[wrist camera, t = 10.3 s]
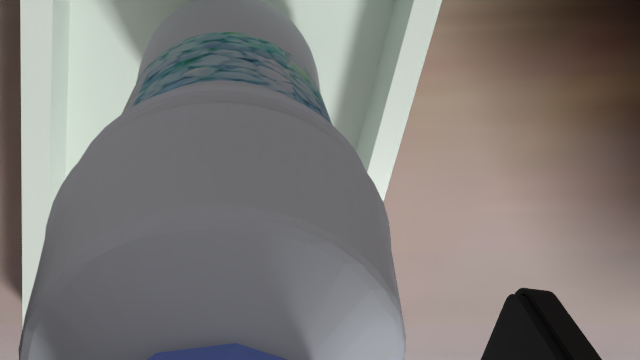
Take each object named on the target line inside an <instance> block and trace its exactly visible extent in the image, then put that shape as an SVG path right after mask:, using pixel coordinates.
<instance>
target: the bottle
mask: <svg viewBox="0 0 640 360" xmlns="http://www.w3.org/2000/svg"><path fill="white" fill-rule="evenodd" d="M405 352H406V335H405V329H404V322H403V316H402V310H401V305H400V299H399V293H398V287H397V281H396V275H395V270H394V264H393V258H392V252H391V237H390V228H389V221H388V217H387V213H386V210H385V206H384V203H383V201H382V199H381V196H380V194H379V192H378V190H377V188H376V186H375V184H374V182H373V181H372V179H371V178H370V176H369V175H368V173H367V172H366V170H365V168H364V165H363V163H362V161H361V159H360V158H359V156H358V154H357V153H356V151H355V149H354V148H353V146H352V145H351V144H350V143H349V141H348V140H347V139H346V138H345V137H344V136H343V135H342V134H341V133H340V132H339V131H338V130H337V129H336V128H335V127H334V126H333V125H332V123H331V120H330V117H329V115H328V112H327V109H326V106H325V104H324V101H323V98H322V96H321V93H320V85H319V77H318V72H317V68H316V64H315V61H314V58H313V55H312V53H311V50H310V48H309V46H308V44H307V42H306V40H305V39H304V37H303V35H302V34H301V32H300V31H299V30H298V28H297V27H296V26H295V24H294V23H293V22H292V21H291V20H290V19H289V18H288V17H287V16H286V15H285V14H284V13H283V12H282V11H281V10H280V9H278V8H277V7H275V6H274V5H272V4H271V3H269V2H267V1H263V0H192V1H190V2H188V3H187V4H185V5H183V6H181V7H179V8H178V9H177V10H175V11H174V12H173V13H172V14H171V15H169V16H168V17H167V18H166V19H165V20H164V21H163V22H162V23H161V25H160V26H159V27H158V28H157V29H156V31H155V32H154V33H153V35H152V37H151V39H150V41H149V43H148V46H147V48H146V50H145V52H144V55H143V57H142V61H141V64H140V67H139V72H138V77H137V81H136V85H135V87H134V89H133V91H132V93H131V95H130V97H129V99H128V101H127V104H126V106H125V108H124V110H123V112H122V114H121V115H120V116H119V117H118V118H116V119H115V120H114V121H112V122H111V123H110V124H108V125H107V126H106V127H105V128H104V129H103V130H102V131H101V132H100V133H99V134H98V136H97V137H96V138H95V139H94V140H93V141H92V142H91V143H90V145H89V146H88V148H87V149H86V151H85V153H84V154H83V156H82V157H81V159H80V160H79V162H78V163H77V164H76V165H75V166H74V168H73V169H72V170H71V171H70V173H69V174H68V176H67V177H66V179H65V180H64V182H63V183H62V185H61V187H60V189H59V191H58V193H57V195H56V197H55V199H54V201H53V204H52V207H51V211H50V214H49V218H48V221H47V225H46V231H45V240H44V244H43V248H42V252H41V257H40V261H39V265H38V270H37V274H36V277H35V281H34V285H33V289H32V292H31V296H30V300H29V303H28V307H27V311H26V315H25V319H24V325H23V330H22V335H21V340H20V346H19V360H404V359H405Z"/></svg>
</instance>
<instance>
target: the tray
mask: <svg viewBox="0 0 640 360" xmlns="http://www.w3.org/2000/svg"><path fill="white" fill-rule="evenodd" d="M190 1H192V0H20V26H21V172H22V317H23V325H24V319H25V315H26V311H27V307H28V303H29V300H30V296H31V292H32V289H33V285H34V281H35V277H36V274H37V270H38V265H39V261H40V257H41V252H42V248H43V244H44V240H45V231H46V225H47V221H48V218H49V214H50V211H51V207H52V204H53V201H54V199H55V197H56V195H57V193H58V191H59V189H60V187H61V185H62V183H63V182H64V180H65V179H66V177H67V176H68V174H69V173H70V171H71V170H72V169H73V168H74V166H75V165H76V164H77V163H78V162H79V160H80V159H81V157H82V156H83V154H84V153H85V151H86V149H87V148H88V146H89V145H90V143H91V142H92V141H93V140H94V139H95V138H96V137H97V136H98V134H99V133H100V132H101V131H102V130H103V129H104V128H105V127H106V126H107V125H108V124H110V123H111V122H112V121H114V120H115V119H116V118H118V117H119V116H120V115H121V114H122V112H123V110H124V108H125V106H126V104H127V101H128V99H129V97H130V95H131V93H132V91H133V89H134V87H135V85H136V81H137V77H138V72H139V67H140V64H141V61H142V57H143V55H144V52H145V50H146V48H147V46H148V43H149V41H150V39H151V37H152V35H153V33H154V32H155V31H156V29H157V28H158V27H159V26H160V25H161V23H162V22H163V21H164V20H165V19H166V18H167V17H168V16H169V15H171V14H172V13H173V12H174V11H175V10H177V9H178V8H179V7H181V6H183V5H185V4H187V3H188V2H190ZM263 1H267V2H269V3H271V4H272V5H274V6H275V7H277V8H278V9H280V10H281V11H282V12H283V13H284V14H285V15H286V16H287V17H288V18H289V19H290V20H291V21H292V22H293V23H294V24H295V26H296V27H297V28H298V30H299V31H300V32H301V34H302V35H303V37H304V39H305V40H306V42H307V44H308V46H309V48H310V50H311V53H312V55H313V58H314V61H315V64H316V68H317V72H318V77H319V85H320V93H321V96H322V98H323V101H324V104H325V106H326V109H327V112H328V115H329V117H330V120H331V123H332V125H333V126H334V127H335V128H336V129H337V130H338V131H339V132H340V133H341V134H342V135H343V136H344V137H345V138H346V139H347V140H348V141H349V143H350V144H351V145H352V146H353V148H354V149H355V151H356V153H357V154H358V156H359V158H360V159H361V161H362V163H363V165H364V168H365V170H366V172H367V173H368V175H369V176H370V178H371V179H372V181H373V182H374V184H375V186H376V188H377V190H378V192H379V194H380V196H381V199H382V201H384V197H385V194H386V191H387V187H388V184H389V180H390V177H391V173H392V170H393V167H394V163H395V160H396V156H397V153H398V149H399V146H400V143H401V139H402V136H403V132H404V129H405V125H406V122H407V119H408V115H409V112H410V108H411V105H412V101H413V98H414V95H415V91H416V88H417V84H418V81H419V77H420V74H421V71H422V67H423V64H424V60H425V57H426V53H427V50H428V47H429V43H430V40H431V36H432V33H433V29H434V26H435V23H436V19H437V16H438V12H439V9H440V5H441V2H442V0H263Z"/></svg>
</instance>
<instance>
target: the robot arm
mask: <svg viewBox="0 0 640 360" xmlns="http://www.w3.org/2000/svg"><path fill="white" fill-rule="evenodd" d="M481 360H602V359H601V358H600V356H599V355H598V354H597V352H596V351H595V349H594V348H593V347H592V345H591V344H590V343H589V341H588V340H587V338H586V337H585V336H584V334H583V333H582V331H581V330H580V329H579V327H578V326H577V325H576V323H575V322H574V320H573V319H572V318H571V316H570V315H569V314H568V312H567V311H566V309H565V308H564V307H563V305H562V304H561V302H560V301H559V300H558V298H557V297H556V296H555V295H554V294H553V293H552V292H550V291H544V290H536V289H528V288H521V289H519V290H518V291H517V292H516V293H515V294H511V295H509V296H508V297H507V299H506V301H505V303H504V306H503V308H502V310H501V313H500V315H499V318H498V320H497V322H496V325H495V327H494V330H493V332H492V334H491V337H490V339H489V341H488V344H487V346H486V349H485V351H484V353H483V356H482V358H481Z"/></svg>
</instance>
